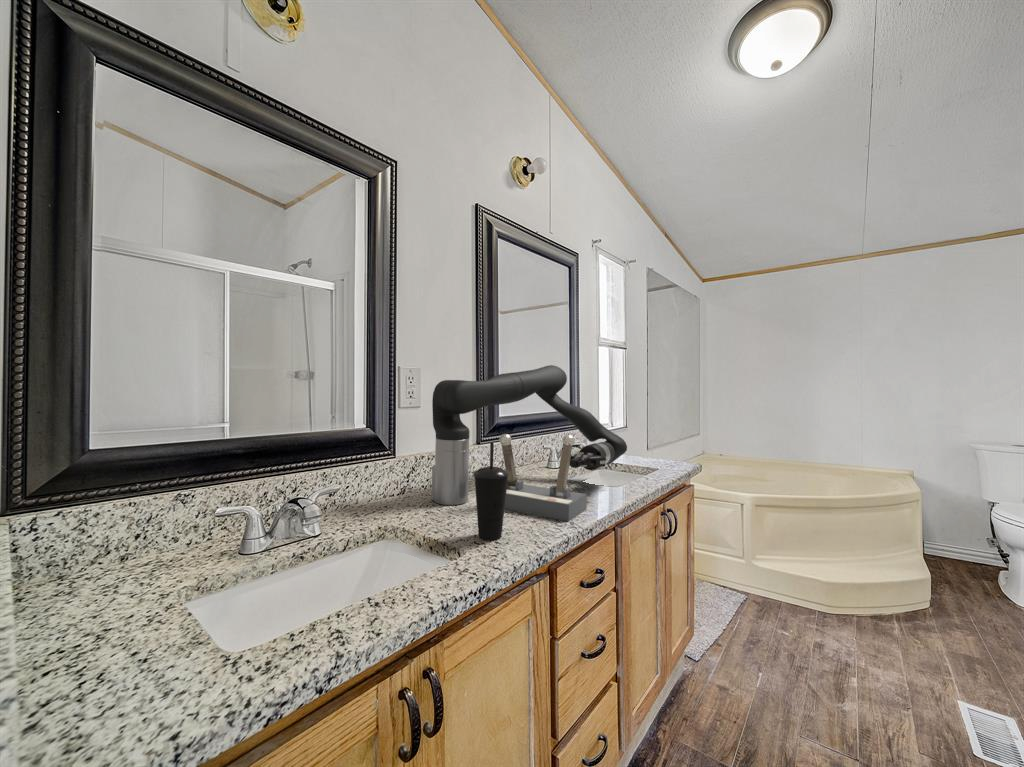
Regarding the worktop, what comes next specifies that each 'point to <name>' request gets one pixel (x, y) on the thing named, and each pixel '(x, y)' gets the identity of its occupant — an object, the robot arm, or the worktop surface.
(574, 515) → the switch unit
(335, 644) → the worktop surface
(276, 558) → the worktop surface
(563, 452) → the lever
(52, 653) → the worktop surface
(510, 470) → the lever
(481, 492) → the drinking cup
